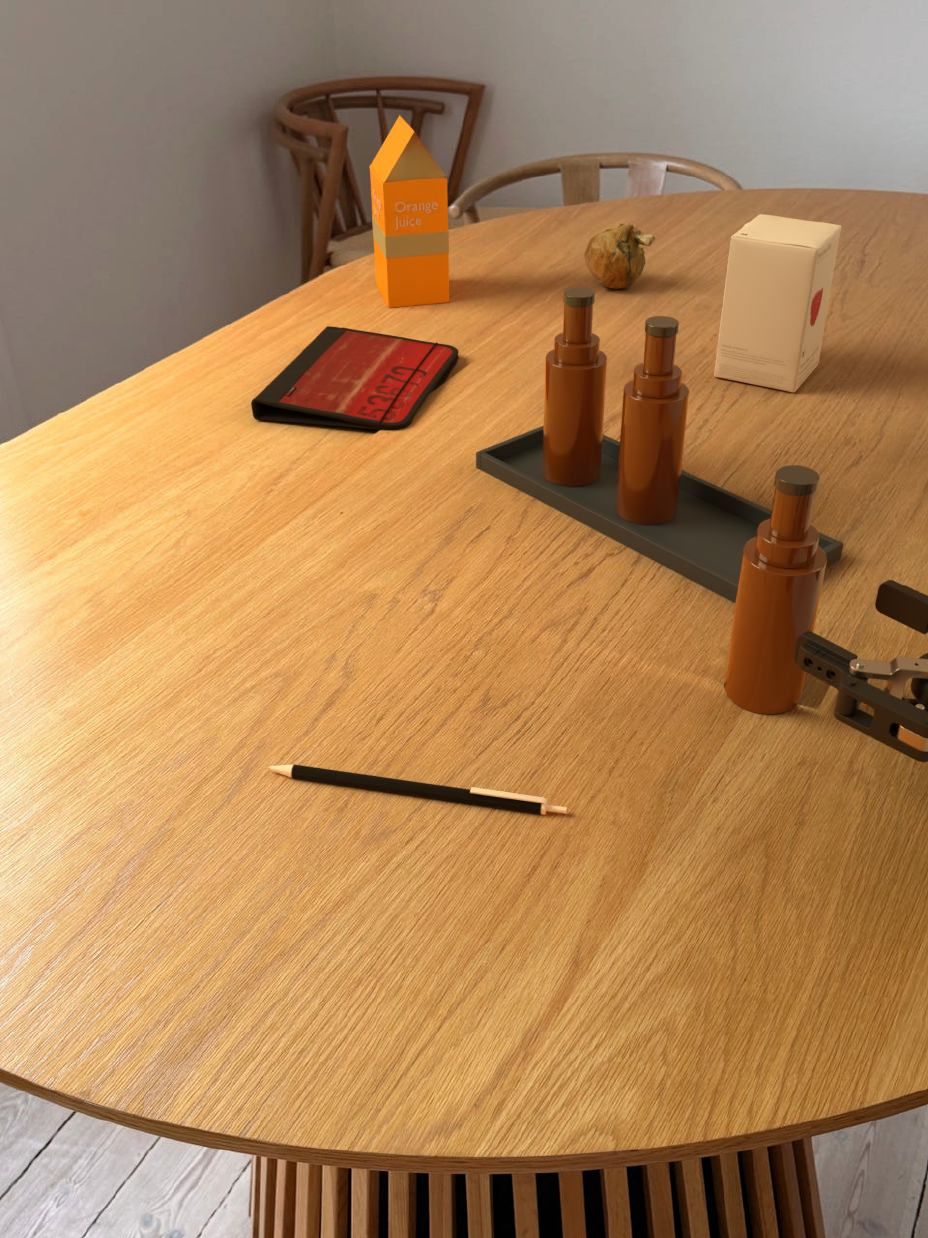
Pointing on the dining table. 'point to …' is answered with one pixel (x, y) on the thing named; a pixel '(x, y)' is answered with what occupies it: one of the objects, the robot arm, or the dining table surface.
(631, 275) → the onion
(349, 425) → the binder
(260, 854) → the dining table surface
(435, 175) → the orange juice
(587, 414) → the bottle
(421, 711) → the dining table surface
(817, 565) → the bottle
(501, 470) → the tray
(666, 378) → the bottle
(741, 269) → the white product box
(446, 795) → the pen
